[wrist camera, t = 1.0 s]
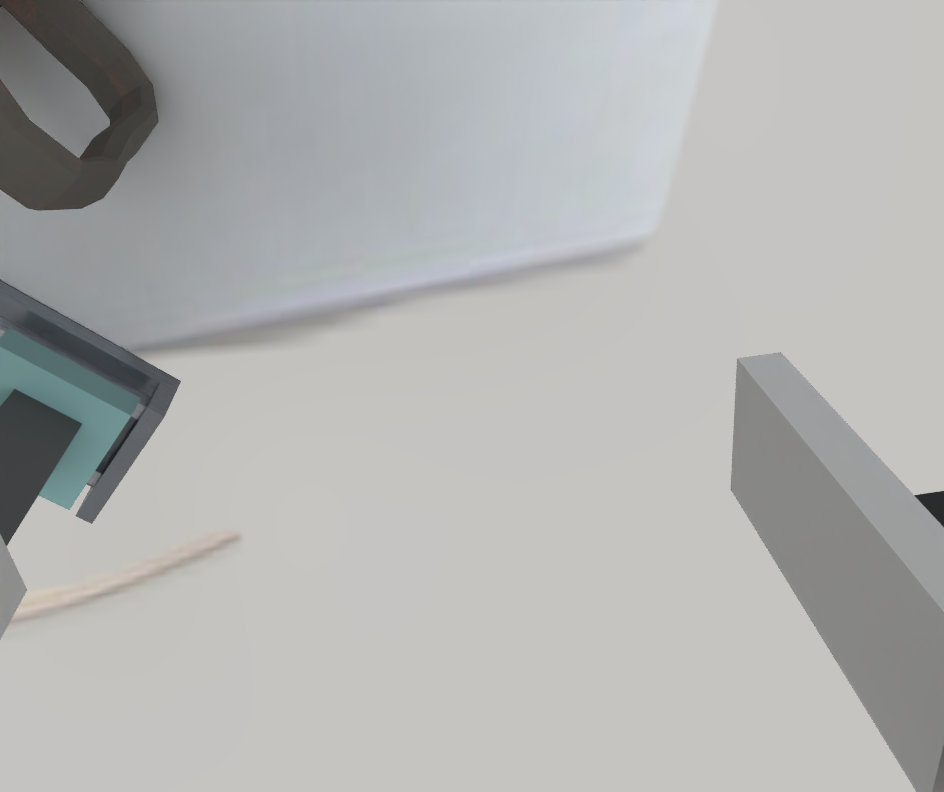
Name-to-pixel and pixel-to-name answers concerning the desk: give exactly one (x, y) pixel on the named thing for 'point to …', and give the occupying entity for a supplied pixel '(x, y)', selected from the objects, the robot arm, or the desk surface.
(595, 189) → the desk surface
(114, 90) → the mug
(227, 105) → the desk surface
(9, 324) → the rail track
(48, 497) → the carriage
